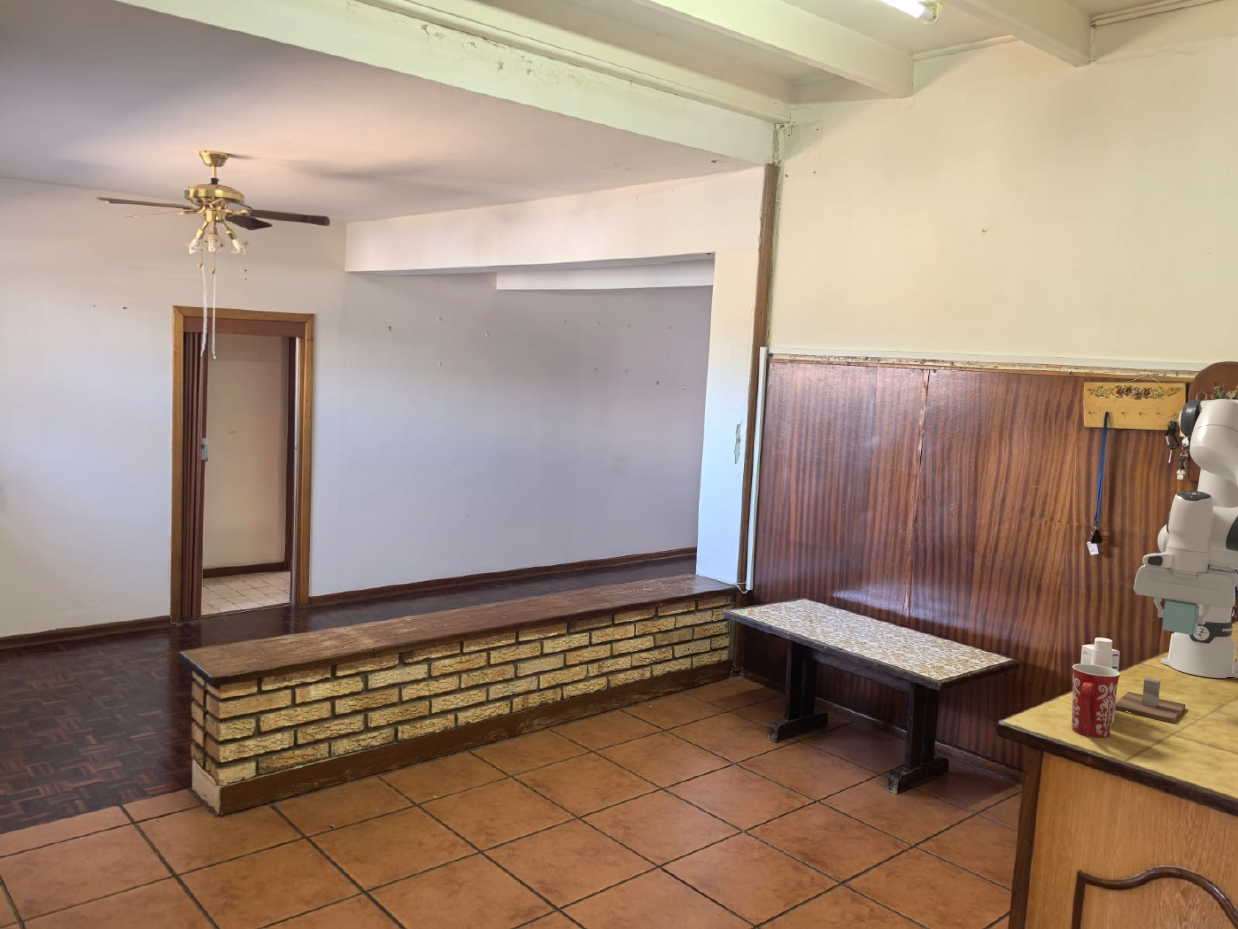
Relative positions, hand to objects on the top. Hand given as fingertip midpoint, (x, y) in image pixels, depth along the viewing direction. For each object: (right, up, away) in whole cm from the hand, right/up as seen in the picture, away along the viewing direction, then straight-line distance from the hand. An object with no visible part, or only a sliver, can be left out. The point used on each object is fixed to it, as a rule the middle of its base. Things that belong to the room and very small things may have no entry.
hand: (1180, 620), depth 222 cm
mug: (-32, -21, -21) cm, 43 cm away
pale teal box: (0, -2, 0) cm, 2 cm away
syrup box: (-23, -20, -6) cm, 30 cm away
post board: (-9, -20, -3) cm, 22 cm away
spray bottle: (-26, -20, -12) cm, 35 cm away
